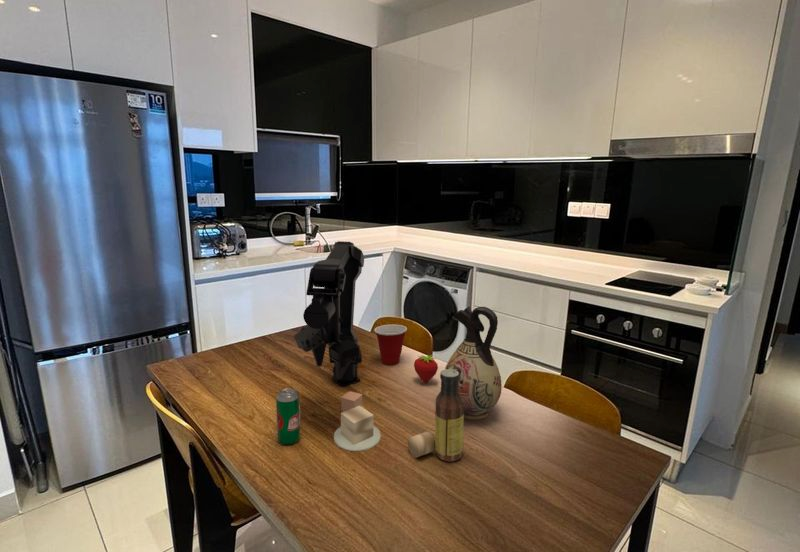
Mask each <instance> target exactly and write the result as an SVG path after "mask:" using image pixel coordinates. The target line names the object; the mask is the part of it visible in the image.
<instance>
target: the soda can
mask: <svg viewBox="0 0 800 552" xmlns="http://www.w3.org/2000/svg"><path fill="white" fill-rule="evenodd" d="M275 401H276V403H275V404H276V423H277V424H276V427H277V441H278V442H279V443H281V444H282V445H285V446H289V445H294V444H296V443H298V441H299V440H300V438H301V409H300V410H299V406H300V395H299V393H298V390H297V389H294V388H289V387H288V388H284V389H281V390H279V391H278V393H277V395H276V397H275Z"/></svg>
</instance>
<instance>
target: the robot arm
mask: <svg viewBox="0 0 800 552" xmlns="http://www.w3.org/2000/svg"><path fill="white" fill-rule="evenodd" d="M364 256H365V255H364V253H363V251H362V249H361V248H359V247H357V246H355V244H354V242H351V241H339V240H337V241H335V242H334V244H333V248H332V250H331V251H330V252H329V254H328V255H327V256H326V259H321V260H318V261H316V263H314V264H313V266H312V267H311V268H310V271H309V277H308V282H307V289H306V293H305V294H306V296H312V298H311V303H310V304H308V306H306V308H305V309H304V311H303V321H304V322H305V324H306V325H307V326H305V325H304V326H302V328H301V329H299V332H297V333H296V334H294V335H293V338H294V341H295V343H296V345H297V347H298V349H301V350H302V351H303V352H305V353H308V352H310V351H311V352H312V355H313V357H314V360H315V363H316V366H317V367H319V368H320V367H321V366H322V365H323V362H324V357H325V352H326V348H327V346H328V356H329V363H330V364H333V367H332V376H331V380H332V381H333V382H335V383H337V384H338V385H340V386H341V387H346V386H348V385H351V384H354V383H357V382H360V381H361V378H360V377H359V376H358V365H359V364H360V363H362V360H363V357H362V356H363V355H362V350H361V347H360V345H359V344H358V343H359V341H358V336H356V332H355V331H354V318H355V317H354V314H355V294H356V284H357V283H356V282H357V280H358V278H359V277H360V276H361V274H362V269H363V267H364V264H365V257H364Z"/></svg>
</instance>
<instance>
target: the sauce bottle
mask: <svg viewBox="0 0 800 552" xmlns="http://www.w3.org/2000/svg"><path fill="white" fill-rule="evenodd" d="M439 375H440V376H439V377H440V392H439V393H437V394H438V395H436V398H435V411H434V440H435V450H434V451H435V453H436V454H435V455H436V457H438V458H439V459H440V460H442V461H444V462H448V463H449V462H450V463H451V462H456V461H458V460H460V459H461V458H462V455H463V449H464V420H465V418H464V411H463V402H462V400H461V398H460V395H459V392H458V391H459V389H458V380H459V372H458V371H456V370H453V369H445V368H444V369H442V370H441V371H440V374H439Z"/></svg>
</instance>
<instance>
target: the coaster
mask: <svg viewBox="0 0 800 552" xmlns="http://www.w3.org/2000/svg"><path fill="white" fill-rule="evenodd" d="M333 441H334V443H335V445H336V446H338V448H340V449H342V450H345V451H349V452H361V451H362V452H363V451H367V450H370V449H373V448H374V447H375V446H377V445H378V443H380V441H381V431H380V429H379V428H378V427H377V426H376V425H374V424H373V436H372V437H370V438H368V439H366V440H364V441H361V442H359V443H357V444H355V445H354V444H352V443H351V442H350V441H349V440H348V439H346V438H345V437H344V436H343V435H342V434H341V426H339V427H338V428H337V429H336V430H335V432H334V434H333Z"/></svg>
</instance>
